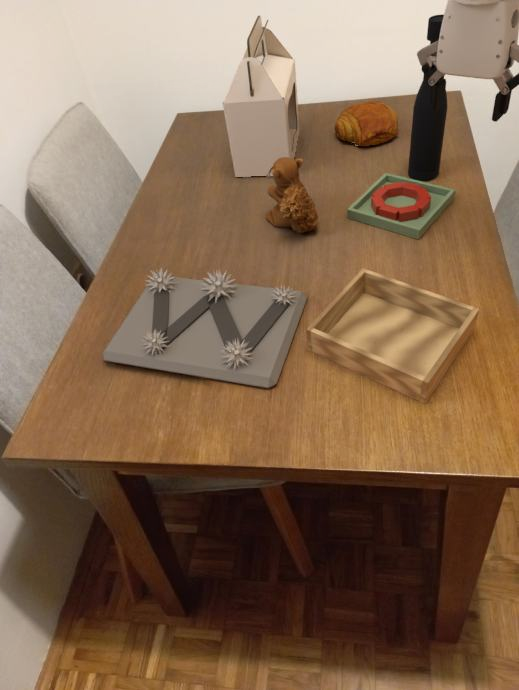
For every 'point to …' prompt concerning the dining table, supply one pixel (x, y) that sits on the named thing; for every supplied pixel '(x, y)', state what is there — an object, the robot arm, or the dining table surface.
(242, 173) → the gable box
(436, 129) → the wine bottle
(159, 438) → the dining table surface
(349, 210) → the tray
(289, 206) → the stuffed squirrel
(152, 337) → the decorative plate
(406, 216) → the ring
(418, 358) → the crate
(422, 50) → the robot arm
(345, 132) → the croissant
